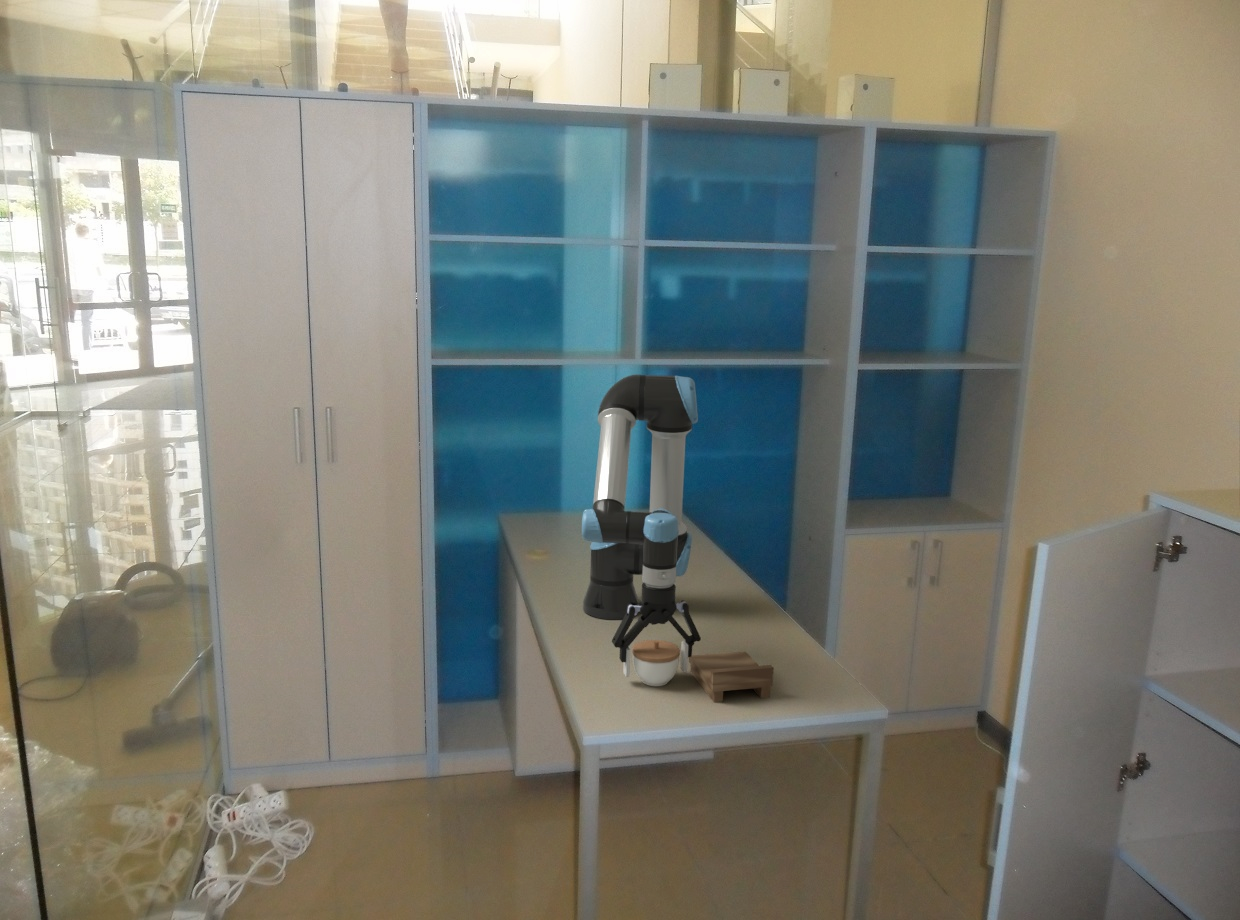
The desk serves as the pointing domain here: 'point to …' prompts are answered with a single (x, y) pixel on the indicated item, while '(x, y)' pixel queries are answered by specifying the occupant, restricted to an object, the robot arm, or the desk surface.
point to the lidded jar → (655, 661)
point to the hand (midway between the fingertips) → (655, 672)
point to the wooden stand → (730, 674)
